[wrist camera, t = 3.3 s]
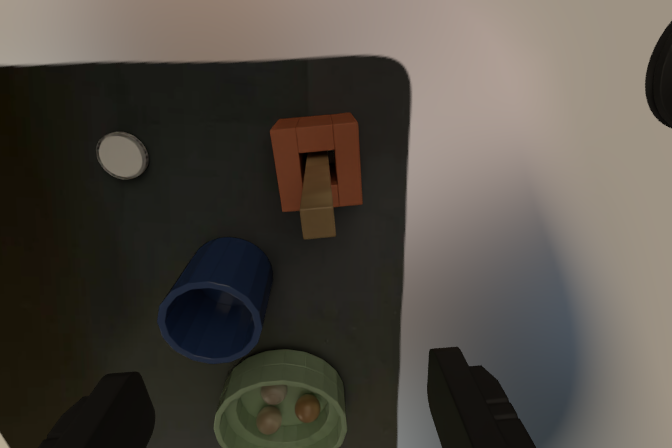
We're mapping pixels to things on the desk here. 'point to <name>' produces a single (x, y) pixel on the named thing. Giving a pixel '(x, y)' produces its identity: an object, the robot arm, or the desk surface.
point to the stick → (317, 198)
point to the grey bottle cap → (122, 155)
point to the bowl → (301, 378)
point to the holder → (311, 137)
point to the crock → (218, 302)
